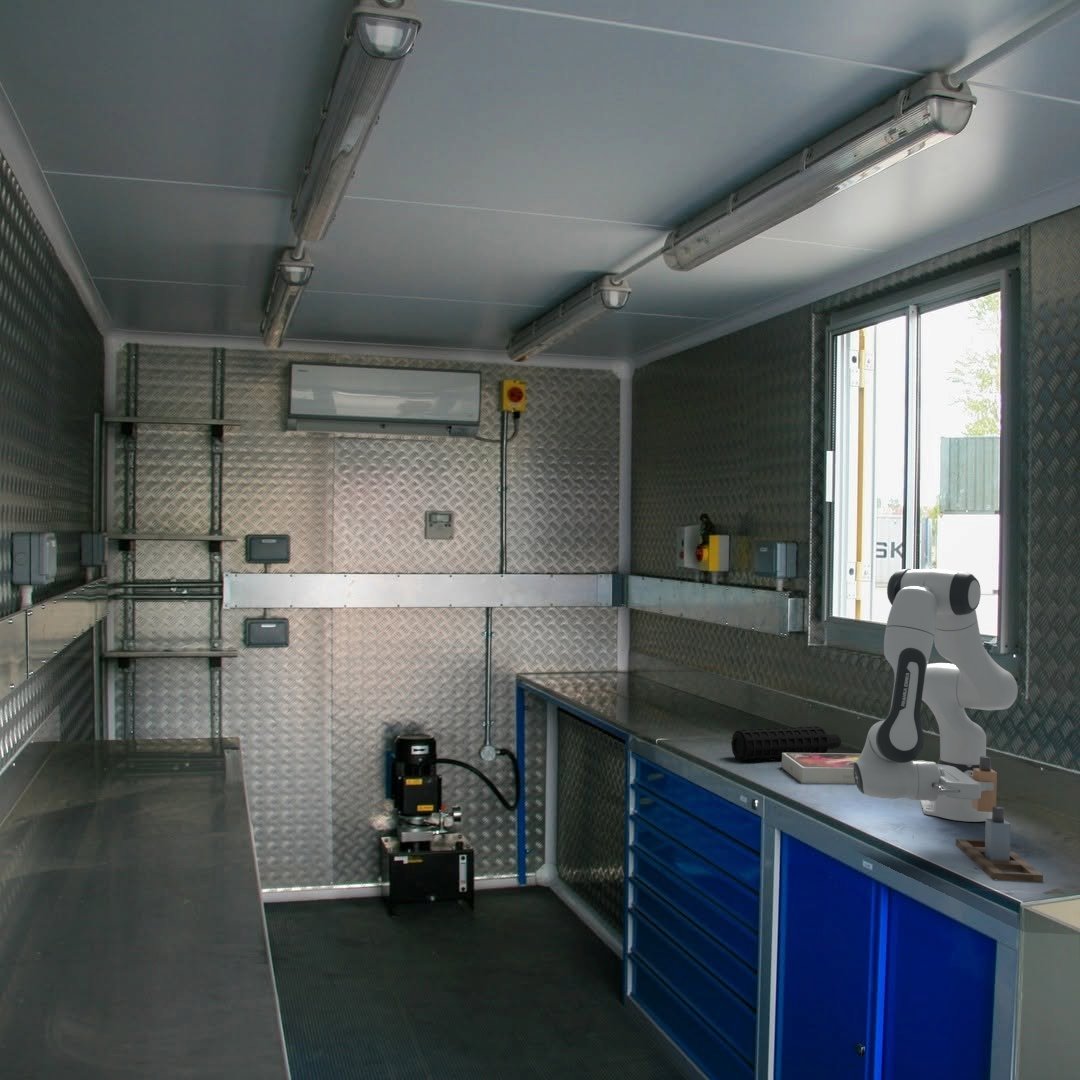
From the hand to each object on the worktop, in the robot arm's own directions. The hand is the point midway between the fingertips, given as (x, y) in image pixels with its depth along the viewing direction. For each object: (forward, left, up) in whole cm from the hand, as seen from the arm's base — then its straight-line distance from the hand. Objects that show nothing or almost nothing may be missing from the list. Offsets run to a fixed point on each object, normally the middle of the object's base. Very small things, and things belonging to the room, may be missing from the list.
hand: (988, 783), depth 250 cm
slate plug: (+9, -1, -15) cm, 18 cm away
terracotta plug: (0, -1, -6) cm, 6 cm away
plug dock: (+9, -1, -16) cm, 18 cm away
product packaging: (-77, -19, -16) cm, 81 cm away
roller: (-101, -30, -16) cm, 107 cm away
